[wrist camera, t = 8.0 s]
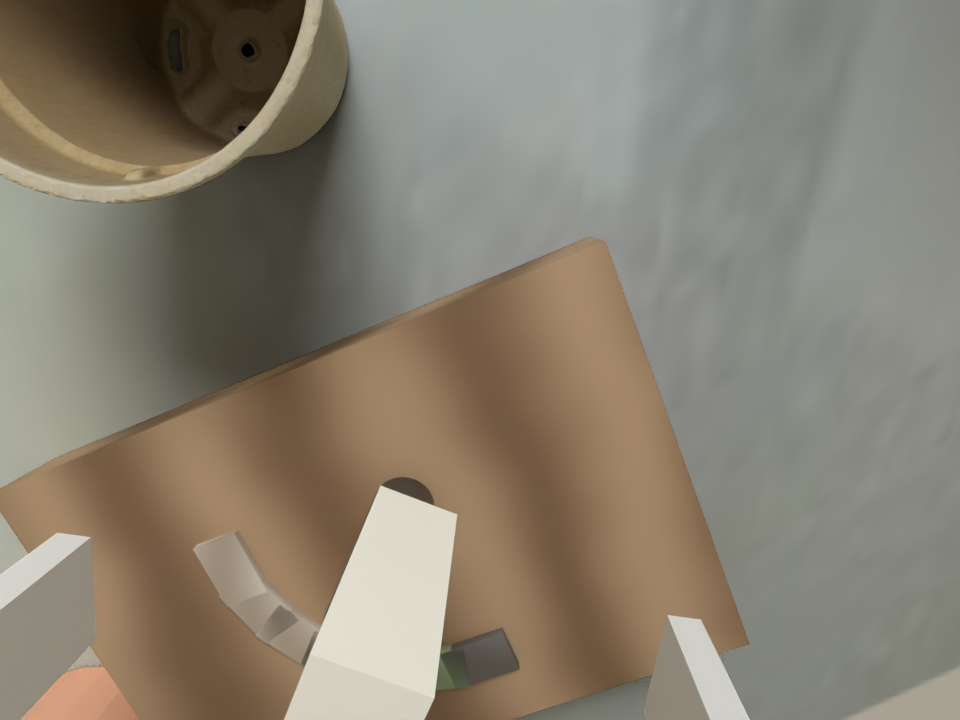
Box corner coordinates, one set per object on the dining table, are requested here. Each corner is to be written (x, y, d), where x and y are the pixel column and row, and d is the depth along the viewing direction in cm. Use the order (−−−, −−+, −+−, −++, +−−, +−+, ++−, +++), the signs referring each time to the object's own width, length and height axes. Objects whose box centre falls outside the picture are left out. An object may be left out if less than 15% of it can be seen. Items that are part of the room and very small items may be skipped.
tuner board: (589, 237, 20) (607, 241, 17) (717, 590, 23) (753, 650, 20) (53, 458, 23) (-19, 499, 19) (237, 749, 26) (200, 824, 23)
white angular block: (412, 400, 18) (302, 651, 8) (471, 423, 18) (441, 700, 8) (305, 670, 21) (115, 1129, 10) (358, 688, 21) (222, 1159, 11)
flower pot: (444, 146, 19) (406, 95, 11) (195, 247, 20) (-11, 270, 12) (328, -165, 17) (174, -517, 9) (58, -36, 18) (-304, -244, 10)
